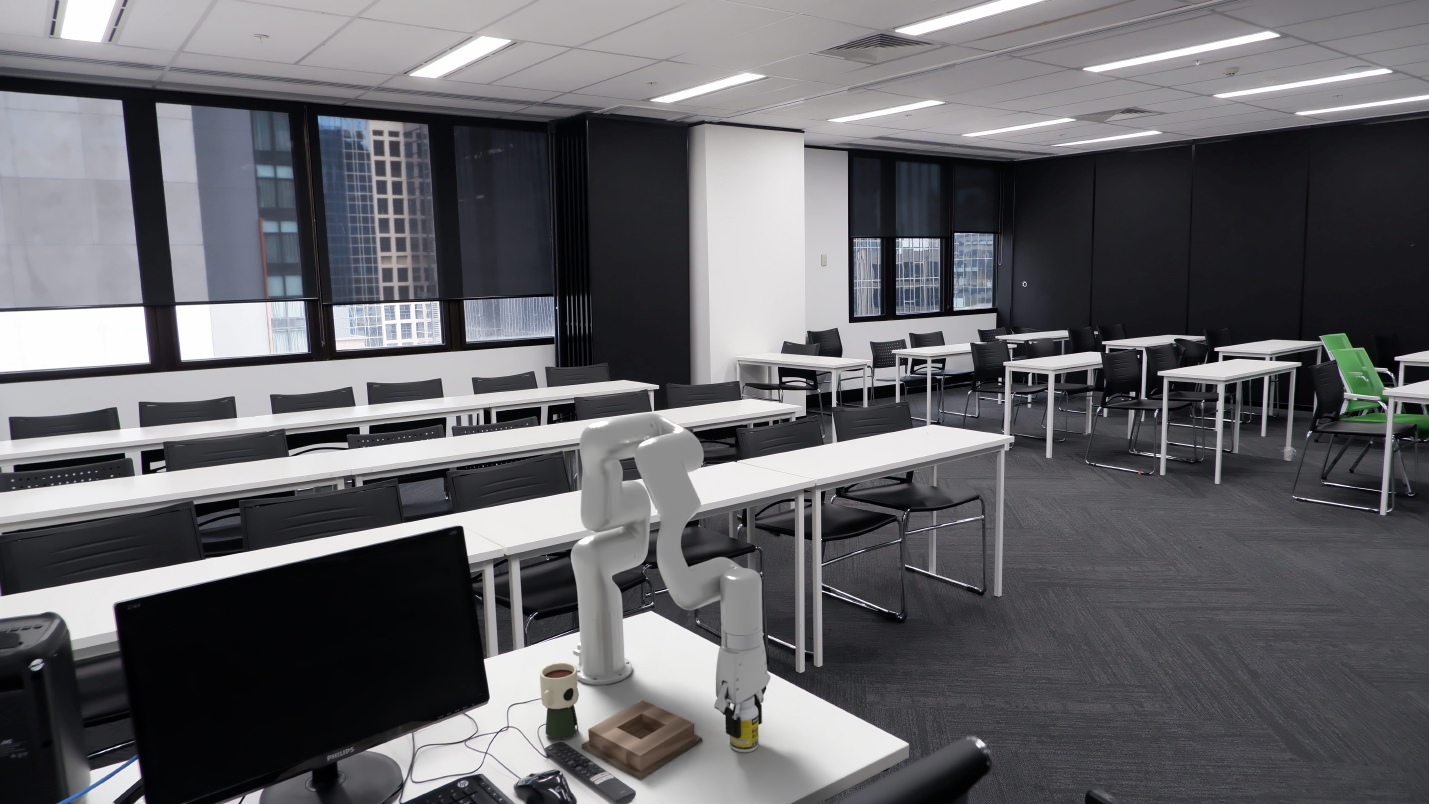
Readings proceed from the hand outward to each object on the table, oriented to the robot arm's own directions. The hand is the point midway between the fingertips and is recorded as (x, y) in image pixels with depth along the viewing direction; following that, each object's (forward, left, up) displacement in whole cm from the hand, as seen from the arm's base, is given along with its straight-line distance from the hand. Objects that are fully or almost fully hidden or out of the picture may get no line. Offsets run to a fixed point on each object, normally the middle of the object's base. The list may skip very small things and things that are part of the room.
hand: (744, 727), depth 160 cm
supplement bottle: (0, 0, -4) cm, 4 cm away
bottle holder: (-15, -12, -3) cm, 20 cm away
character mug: (-30, -19, -4) cm, 36 cm away
